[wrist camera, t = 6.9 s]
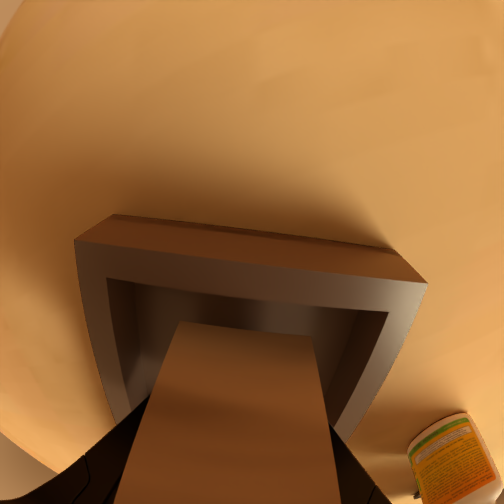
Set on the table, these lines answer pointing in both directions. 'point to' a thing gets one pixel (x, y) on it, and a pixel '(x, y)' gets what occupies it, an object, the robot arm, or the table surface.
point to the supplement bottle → (454, 464)
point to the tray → (243, 302)
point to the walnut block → (233, 424)
